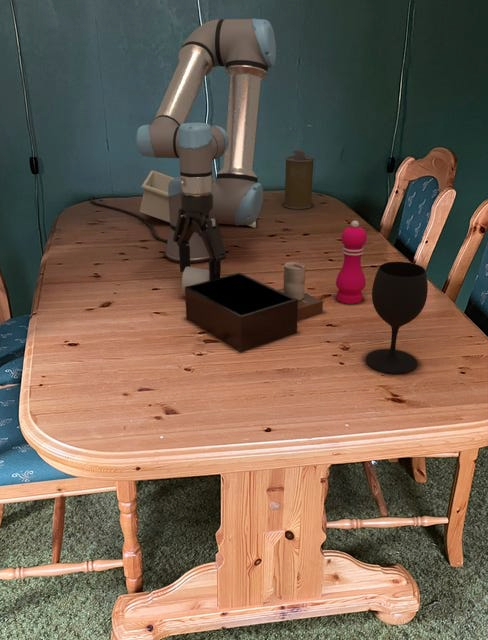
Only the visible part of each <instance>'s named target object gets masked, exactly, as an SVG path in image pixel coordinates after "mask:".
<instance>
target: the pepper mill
mask: <svg viewBox="0 0 488 640" xmlns="http://www.w3.org/2000/svg"><path fill="white" fill-rule="evenodd" d="M350 225H351V226H348V227H346V228H345V229H344V230H343V231H342V233H341V237H340V239H341V242H342V244H343V246H342V253H343V258H344V259H343V263H342V267H341V268H340V270H339V271H338V273H337V276H336V279H335V286H336V288H337V289H338V290H337V292H336V300H337V301H338V302H340V303H342V304H348V305H354V304H355V305H356V304H359V303H362V301H363V294H364V293H363V292H362V291H363V290H364V289H365V287H366V277H365V273H364V271H363V267H362V264H361V263H362V262H361V261H362V255H364V249H365V247H364V245H365V244H366V243H367V241H368V236H367V232H366V230H365V229H364V228H363V227H360V222H359V221H358V220H352V221H351V224H350Z"/></svg>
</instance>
